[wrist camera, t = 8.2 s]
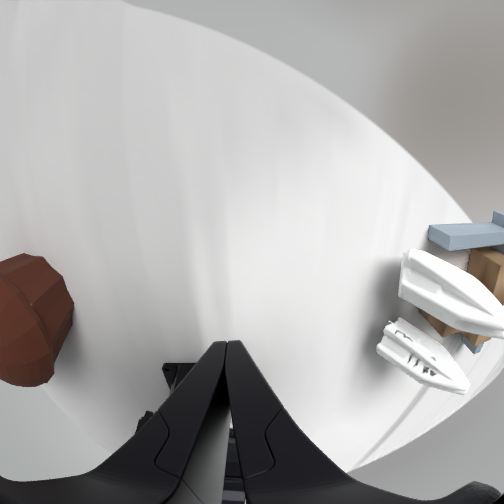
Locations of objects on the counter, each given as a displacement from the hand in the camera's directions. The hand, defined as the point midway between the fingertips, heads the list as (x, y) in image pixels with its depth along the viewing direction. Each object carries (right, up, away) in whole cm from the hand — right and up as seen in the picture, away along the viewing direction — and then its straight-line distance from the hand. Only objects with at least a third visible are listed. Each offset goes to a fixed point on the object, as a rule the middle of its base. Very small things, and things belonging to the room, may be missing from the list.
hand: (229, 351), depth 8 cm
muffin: (-20, -1, +13) cm, 24 cm away
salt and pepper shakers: (+13, -1, +13) cm, 18 cm away
